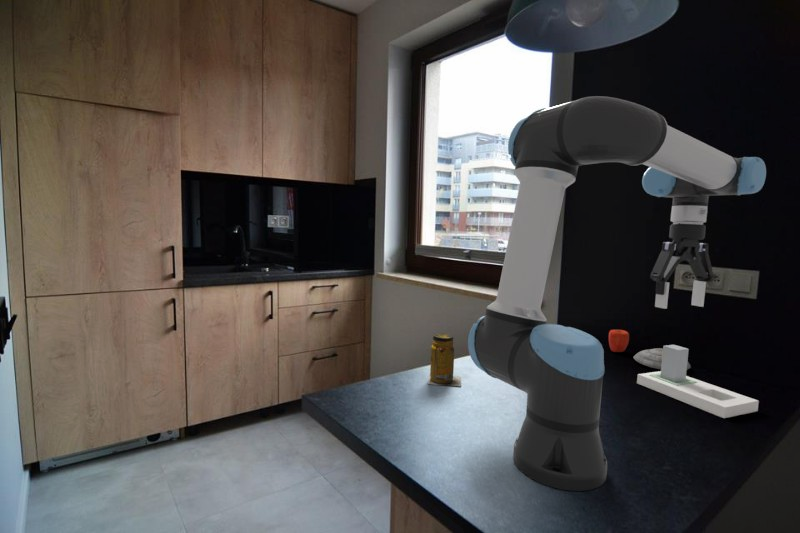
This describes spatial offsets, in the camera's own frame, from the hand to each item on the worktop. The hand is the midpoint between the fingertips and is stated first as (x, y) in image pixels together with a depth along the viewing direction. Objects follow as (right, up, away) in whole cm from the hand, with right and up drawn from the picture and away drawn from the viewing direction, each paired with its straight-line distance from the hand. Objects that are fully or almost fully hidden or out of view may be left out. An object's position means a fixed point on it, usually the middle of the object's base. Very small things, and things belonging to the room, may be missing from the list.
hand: (679, 306), depth 111 cm
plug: (-1, -22, +2) cm, 22 cm away
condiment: (-60, -20, +2) cm, 63 cm away
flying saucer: (+8, -20, +21) cm, 31 cm away
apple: (+2, -19, +35) cm, 39 cm away
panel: (+2, -22, -3) cm, 22 cm away
